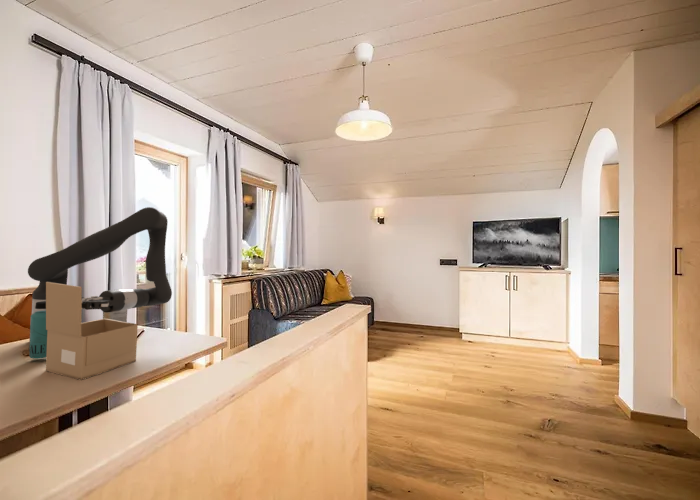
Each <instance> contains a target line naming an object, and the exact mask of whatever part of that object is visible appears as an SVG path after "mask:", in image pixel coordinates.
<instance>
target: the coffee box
mask: <svg viewBox="0 0 700 500" xmlns="http://www.w3.org/2000/svg"><path fill="white" fill-rule="evenodd" d="M102 319H111V320H117V321H122V322H128V309H127V310H122V311H115V312H108V313H106V312H103V311H102Z"/></svg>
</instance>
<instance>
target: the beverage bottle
mask: <svg viewBox="0 0 700 500" xmlns="http://www.w3.org/2000/svg"><path fill="white" fill-rule="evenodd" d="M35 309H46V301H41V302H36V306H35ZM30 323H31V325H30V324H29V325H30V326H29V338H28V339H29V345H28V349H29V350H28V356H29V358H30V359H37V360H38V359H45V358H46V355H47V331H48V330H46V311H37V312H35V313H33V314H32V313H31V315H30Z"/></svg>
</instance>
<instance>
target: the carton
mask: <svg viewBox="0 0 700 500" xmlns="http://www.w3.org/2000/svg"><path fill="white" fill-rule="evenodd" d="M137 341H138V324H137V323H132V322H128V321H127V322H122V321H117V320H111V319H103V318H100V319H94V320H89V321H85V322H81V337H78V336H73V335H69V334H64V333H59V332H54V331H50V330H48V331H47V355H46V357H45V358H46V362H45V363H46V364H45V371H46V372H48V373H49V372H50V373H52V374H53V373H54V374H57V375H62V376H64V377H67V378H68V377H69V378H72V379H76V380H79V379H80V380H79V381H82V380H85V378H86V379H89V378H92V377H94V375H95V376H97V374H98V375H100V373H101V374H103V373H105V372H109V371H112V370H114V369H118V368H121V367H124V366H126V365H129V364H132V363H135V362H137V344H138V342H137ZM91 376H92V377H91ZM88 377H89V378H88Z"/></svg>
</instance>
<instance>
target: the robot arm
mask: <svg viewBox="0 0 700 500" xmlns="http://www.w3.org/2000/svg"><path fill="white" fill-rule="evenodd" d="M167 229H168V217H167V215H165V214H164V212H162V211H160V210H159V209H158V208H155V207H152V206H151V207H150V206H147V207H143V208H141V209H139V210H137V211H136V212H135V213H134V212H133V214H131V215H130V216H128V217H126V218H125V219H122V220H121V221H119V222H117V223H114V224H112V225H110V226H107V227H106V228H103V229H100V230H99V231H97V232H94V233H92V234H90V235H87V236H86V237H84V238H82V239H80V240H78V241H76V242H74V243H72V244H71V245H69V246H67V247H65V248H63V249H61V250H58V251H57V252H54V253H50V254H48V255H46V256H42V257H39V258H36V259H35V260H33V261H32V262H31V263H30V264H29V266H28V268H27V275H28V276H29V277H30V278H31V279H32V280H34V281H36V282H38V285H37V287H36V288H35V289H34V290H33V292H32V296H31V315H32V314H33V313H35V312H37V311H46V309H35V306H36V302H41V301H46V282H51V283H58V284H65V285H68V275H69V274H68V273H69V269H70V268H72V267H74V266H78V265H81V264H85V263H88V262H90V261H94V260H96V259H100V258H102V257H104V256H106V255H108V254H111V253H112V252H115V251H116V250H117V249H119V248H120V247H121V246H122V245H123V244H124V243H125V242H126V241H127V240H128V239H129V238H131V237H132V236H134V235H137V234H139V233H141V232H144V231H147V233H148V236H149V245H148V250H147V253H146V256H145V257H146V258H145V275H146V280H147V281H148V282H152V283H153V284H154V287H149V288H131V289H128V288H127V289H126V288H124V289H122V288H121V289H110V290H109V289H108V290H104V291H102V292H101V293H100V294H99V296H98V295H94V296H90V297H89V296H88V297H83V296H82V310H86V311H87V310H89V311H90V310H91V311H92V310H101V312H102V313H103V312H106V313H108V312H115V311H122V310H127V311H128V310H129V309H135V308H141V307H142V308H143V307H151V306H156V305H163V304H167V303H169V302H170V300H171V299H172V295H173V292H172V288H171V287H172V286H171V285H170V282H169V280H168V277H167V265H166V239H167V231H168V230H167ZM29 323H30V324H29V325H31V322H29Z"/></svg>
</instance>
